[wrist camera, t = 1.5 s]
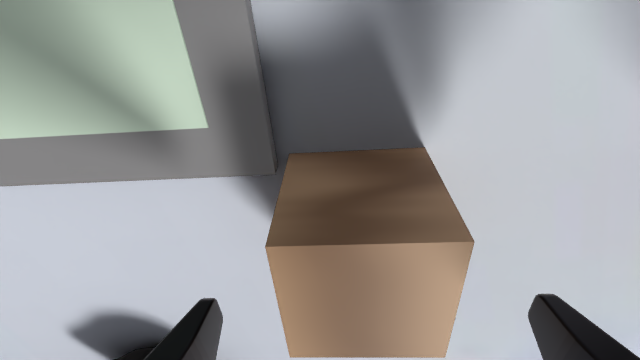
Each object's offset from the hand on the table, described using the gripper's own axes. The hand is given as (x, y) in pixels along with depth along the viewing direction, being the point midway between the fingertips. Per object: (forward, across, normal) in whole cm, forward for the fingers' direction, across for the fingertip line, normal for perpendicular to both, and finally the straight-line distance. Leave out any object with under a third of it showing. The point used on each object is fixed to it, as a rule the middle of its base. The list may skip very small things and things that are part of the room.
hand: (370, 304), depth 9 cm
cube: (+5, 0, 0) cm, 5 cm away
